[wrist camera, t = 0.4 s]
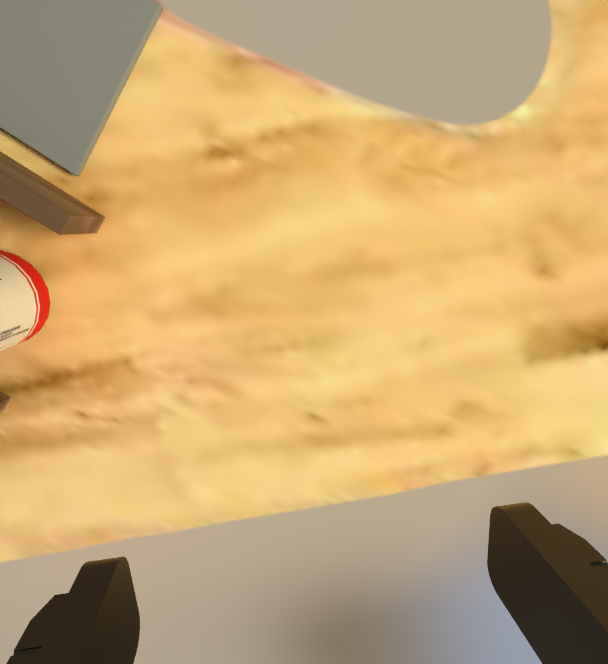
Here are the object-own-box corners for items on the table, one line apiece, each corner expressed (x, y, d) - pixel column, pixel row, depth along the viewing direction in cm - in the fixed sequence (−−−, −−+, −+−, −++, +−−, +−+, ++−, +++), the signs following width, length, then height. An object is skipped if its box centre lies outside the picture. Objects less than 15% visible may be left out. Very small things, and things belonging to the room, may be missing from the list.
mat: (-17, -122, 23) (-25, -131, 22) (162, 8, 25) (159, 3, 24) (-91, 67, 25) (-100, 63, 24) (79, 175, 27) (74, 174, 26)
